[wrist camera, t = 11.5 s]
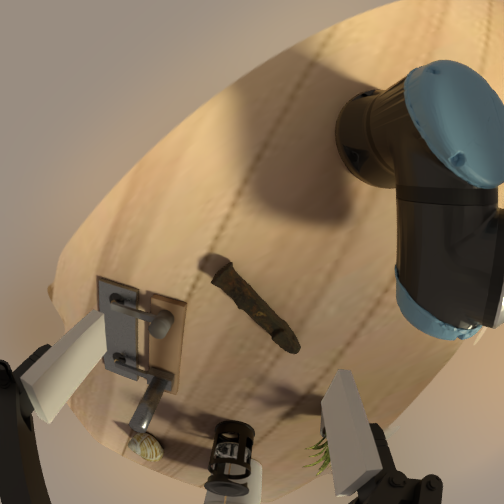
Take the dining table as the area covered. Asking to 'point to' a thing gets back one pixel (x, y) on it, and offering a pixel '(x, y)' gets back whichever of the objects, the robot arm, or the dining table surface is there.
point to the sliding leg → (148, 393)
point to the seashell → (146, 447)
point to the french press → (230, 459)
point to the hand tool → (256, 308)
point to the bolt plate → (119, 326)
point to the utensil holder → (253, 498)
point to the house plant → (326, 454)
